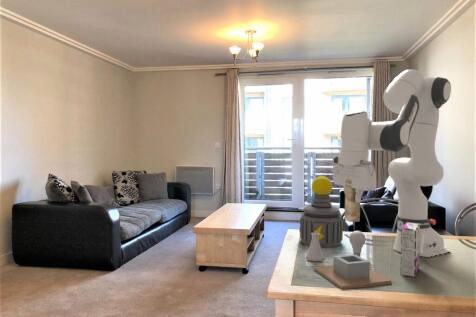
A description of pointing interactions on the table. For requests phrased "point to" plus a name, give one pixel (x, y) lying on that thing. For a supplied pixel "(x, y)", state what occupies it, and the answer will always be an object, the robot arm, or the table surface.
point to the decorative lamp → (321, 217)
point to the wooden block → (351, 204)
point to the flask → (315, 249)
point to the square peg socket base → (351, 272)
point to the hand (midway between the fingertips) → (352, 201)
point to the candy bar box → (410, 249)
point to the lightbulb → (357, 242)
